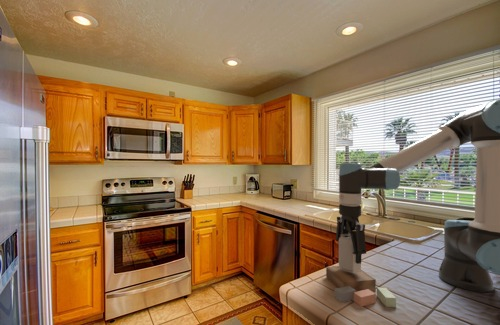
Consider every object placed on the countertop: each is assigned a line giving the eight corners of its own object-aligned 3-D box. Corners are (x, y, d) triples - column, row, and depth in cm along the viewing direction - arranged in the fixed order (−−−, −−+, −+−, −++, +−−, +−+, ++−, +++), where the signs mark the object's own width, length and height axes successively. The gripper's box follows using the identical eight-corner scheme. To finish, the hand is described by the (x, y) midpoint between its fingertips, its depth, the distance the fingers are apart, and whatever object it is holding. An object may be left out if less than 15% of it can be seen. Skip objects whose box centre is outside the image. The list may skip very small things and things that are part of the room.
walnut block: (354, 274, 93) (354, 264, 93) (375, 291, 81) (375, 279, 81) (326, 277, 90) (326, 267, 90) (344, 294, 79) (344, 282, 79)
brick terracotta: (367, 298, 77) (367, 289, 77) (375, 303, 74) (375, 293, 74) (353, 301, 75) (353, 292, 75) (361, 307, 72) (361, 297, 72)
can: (354, 263, 89) (354, 232, 90) (364, 272, 82) (364, 238, 82) (335, 264, 89) (335, 232, 89) (343, 273, 82) (344, 238, 82)
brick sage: (376, 296, 78) (376, 287, 78) (386, 296, 78) (386, 287, 78) (385, 307, 72) (385, 297, 72) (396, 307, 72) (395, 297, 72)
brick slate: (349, 294, 79) (349, 285, 79) (355, 299, 76) (355, 290, 76) (334, 297, 77) (334, 288, 77) (340, 302, 74) (340, 293, 74)
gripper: (326, 200, 95) (326, 256, 95) (358, 209, 75) (358, 281, 75) (343, 200, 96) (343, 255, 96) (378, 209, 77) (378, 279, 76)
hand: (349, 266), depth 86 cm, fingers closed on can, 7 cm apart
